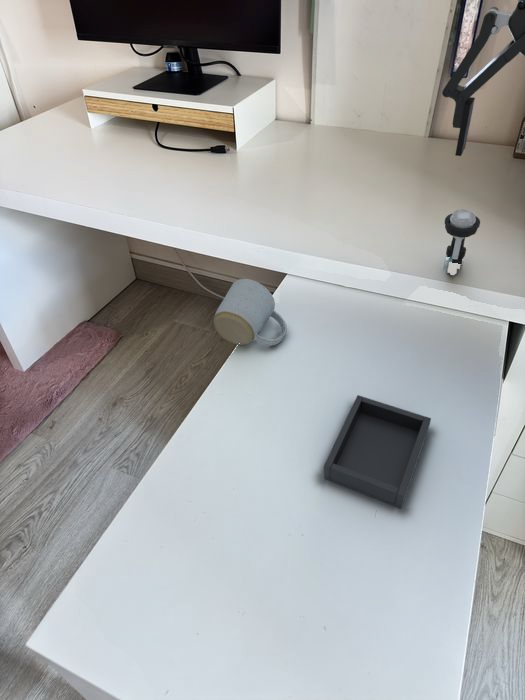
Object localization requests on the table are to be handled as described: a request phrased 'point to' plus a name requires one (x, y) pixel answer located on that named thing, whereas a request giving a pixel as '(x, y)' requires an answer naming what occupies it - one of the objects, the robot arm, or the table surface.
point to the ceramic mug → (247, 314)
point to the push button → (460, 232)
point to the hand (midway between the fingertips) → (514, 157)
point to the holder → (377, 450)
